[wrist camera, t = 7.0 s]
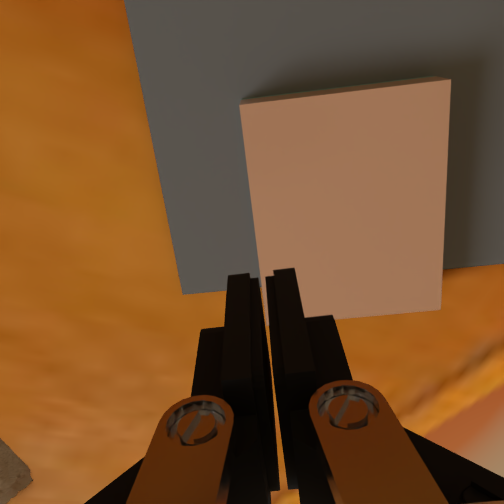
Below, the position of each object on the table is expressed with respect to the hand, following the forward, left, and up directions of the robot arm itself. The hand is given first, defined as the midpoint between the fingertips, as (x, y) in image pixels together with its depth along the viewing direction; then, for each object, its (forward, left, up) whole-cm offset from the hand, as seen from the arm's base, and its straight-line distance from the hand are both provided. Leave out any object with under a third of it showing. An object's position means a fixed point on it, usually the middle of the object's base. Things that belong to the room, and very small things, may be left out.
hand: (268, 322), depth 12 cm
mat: (-3, +3, -11) cm, 12 cm away
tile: (+1, -1, -10) cm, 10 cm away
